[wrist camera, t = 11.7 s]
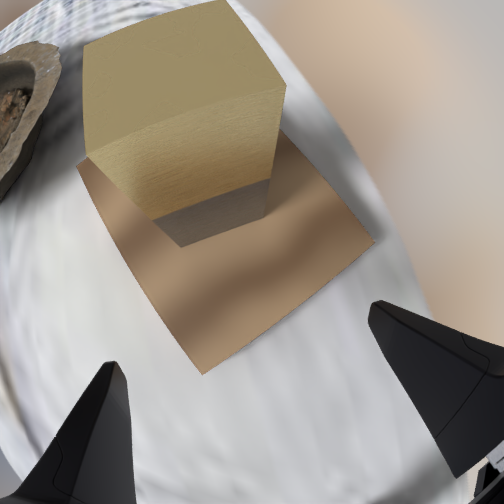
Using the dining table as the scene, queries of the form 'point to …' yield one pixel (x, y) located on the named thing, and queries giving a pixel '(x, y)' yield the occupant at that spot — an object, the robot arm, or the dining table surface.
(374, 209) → the dining table surface
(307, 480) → the dining table surface
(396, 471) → the dining table surface
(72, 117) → the dining table surface
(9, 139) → the stone bowl
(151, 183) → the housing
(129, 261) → the walnut stand
